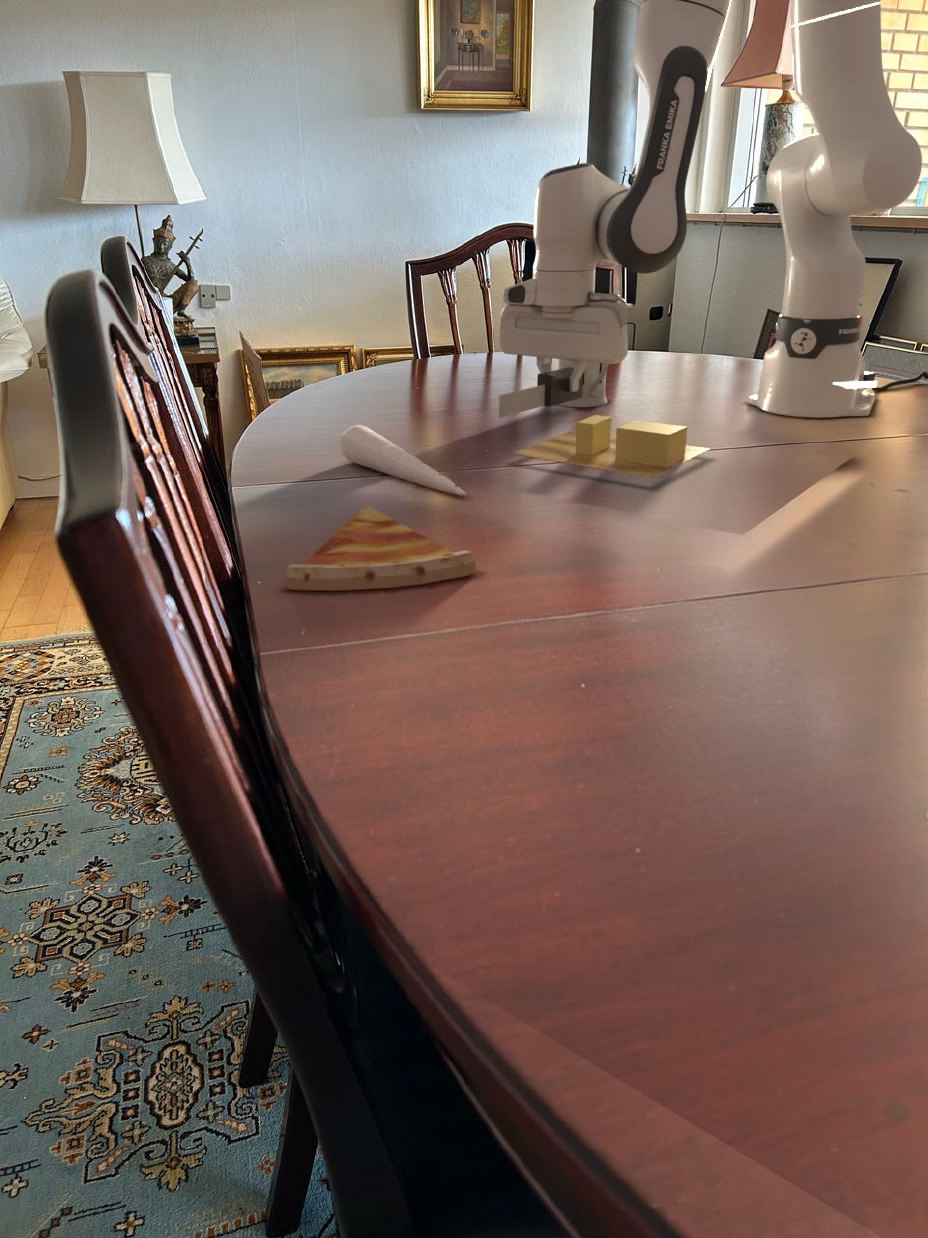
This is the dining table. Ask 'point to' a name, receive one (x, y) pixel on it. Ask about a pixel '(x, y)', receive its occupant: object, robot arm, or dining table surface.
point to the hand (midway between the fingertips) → (560, 389)
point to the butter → (650, 443)
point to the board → (597, 456)
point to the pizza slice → (377, 558)
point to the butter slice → (593, 435)
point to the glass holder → (589, 385)
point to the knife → (540, 393)
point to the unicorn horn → (391, 459)
